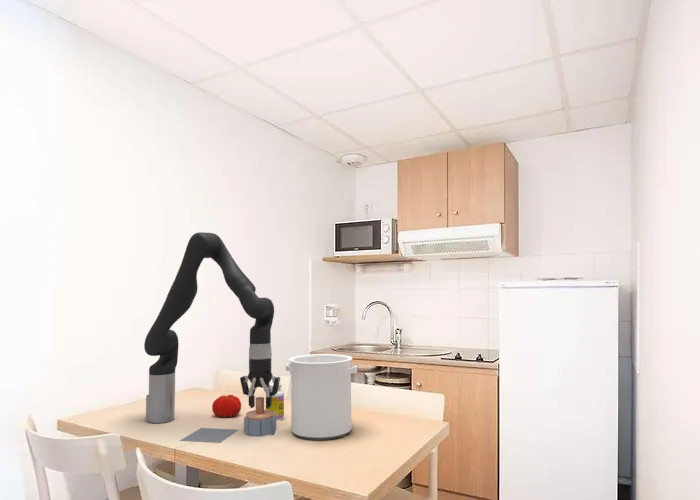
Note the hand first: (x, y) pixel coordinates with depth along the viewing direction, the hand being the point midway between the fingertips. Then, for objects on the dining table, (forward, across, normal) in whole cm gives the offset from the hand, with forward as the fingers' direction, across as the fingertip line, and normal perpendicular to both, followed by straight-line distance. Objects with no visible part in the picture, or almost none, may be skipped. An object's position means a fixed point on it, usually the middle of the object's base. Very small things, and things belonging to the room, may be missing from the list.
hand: (260, 407), depth 162 cm
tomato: (+9, -21, +19) cm, 30 cm away
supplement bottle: (+9, -1, +17) cm, 19 cm away
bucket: (+9, +20, +5) cm, 22 cm away
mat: (+8, -15, -6) cm, 18 cm away
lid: (+3, 0, 0) cm, 3 cm away
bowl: (+8, 0, 0) cm, 8 cm away
